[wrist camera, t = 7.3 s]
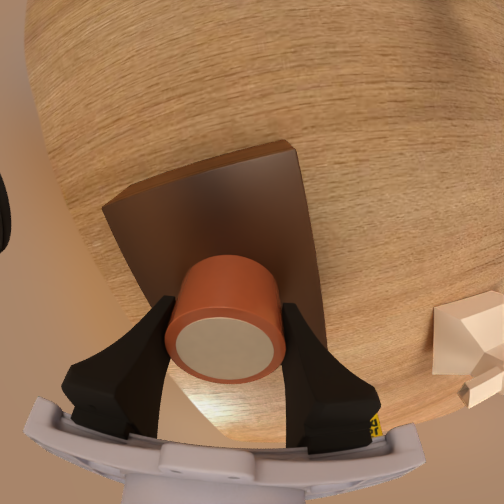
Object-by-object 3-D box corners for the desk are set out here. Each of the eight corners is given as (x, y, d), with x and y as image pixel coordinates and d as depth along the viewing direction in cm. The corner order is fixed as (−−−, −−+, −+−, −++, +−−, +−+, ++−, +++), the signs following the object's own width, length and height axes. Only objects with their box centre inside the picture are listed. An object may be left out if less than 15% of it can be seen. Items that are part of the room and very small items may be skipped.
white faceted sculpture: (488, 328, 24) (534, 404, 12) (406, 356, 25) (447, 462, 13) (511, 275, 20) (575, 354, 8) (427, 298, 21) (497, 422, 9)
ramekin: (185, 327, 16) (173, 379, 13) (177, 251, 14) (154, 302, 10) (273, 332, 17) (277, 386, 13) (285, 257, 14) (296, 310, 10)
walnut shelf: (202, 339, 23) (195, 376, 19) (129, 185, 16) (100, 207, 12) (318, 318, 21) (328, 355, 18) (285, 139, 15) (296, 148, 11)
